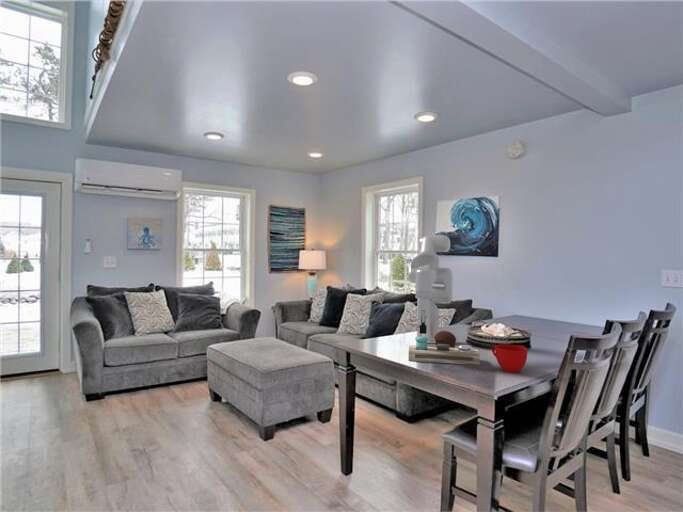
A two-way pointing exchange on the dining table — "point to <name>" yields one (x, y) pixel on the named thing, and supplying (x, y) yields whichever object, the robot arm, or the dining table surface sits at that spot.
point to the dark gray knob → (443, 347)
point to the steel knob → (464, 348)
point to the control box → (444, 356)
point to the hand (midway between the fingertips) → (423, 333)
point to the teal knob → (421, 343)
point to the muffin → (445, 338)
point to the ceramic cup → (510, 357)
